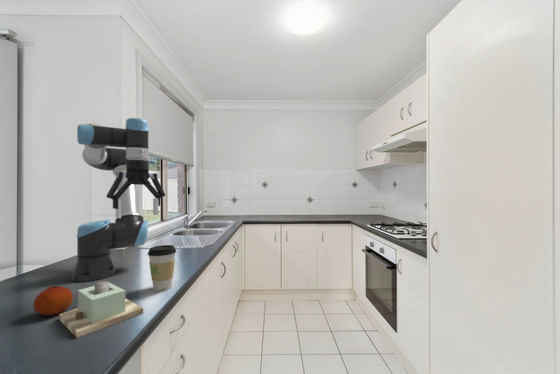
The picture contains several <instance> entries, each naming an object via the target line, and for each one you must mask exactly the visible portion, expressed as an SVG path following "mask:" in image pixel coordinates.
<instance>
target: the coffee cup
mask: <svg viewBox="0 0 560 374" xmlns="http://www.w3.org/2000/svg"><path fill="white" fill-rule="evenodd" d="M176 253H177V249H176V247H175V245H171V244H167V245H166V244H164V245H156V246H152V247H150V248H149V249H148V252H147V256H148V258H149V259H148V260H149V270H150V276H151V282H152V287H153V289H152V290H153V291H156V292H162V291H163V290H164V291H167V290H169V288H170V289H171V288H172V286H173V277H174V272H175V271H174V269H175V263H176V262H175V260H176V258H175V257H176ZM164 291H163V292H164Z"/></svg>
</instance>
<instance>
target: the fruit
mask: <svg viewBox="0 0 560 374" xmlns="http://www.w3.org/2000/svg"><path fill="white" fill-rule="evenodd" d="M73 301H74V295H73V292H72V291H71V290H70V289H69V288H68V287H65V286H61V285H52V286H49V287H47V288H46V289H44V290H43V291H41V292H39V294H38V295H36V297H35V299H34V301H33V309H34V311H35V312H36V313H38V314H40V315H43V316H54V315H59V314H61V313H63V312H65V310H67V309H68V308H69V307H70V306H71V305H72V303H73Z"/></svg>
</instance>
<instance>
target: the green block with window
mask: <svg viewBox="0 0 560 374" xmlns="http://www.w3.org/2000/svg"><path fill="white" fill-rule="evenodd" d="M125 298H126V290H125V289H123V288H121V287H119V286H117V285H116V284H113V283H111V282H109V291H108V292H104V293H101V294H97V295H95V285H93V286H89V287H85V288H81V289H78V290H77V308H78V311H79V312H83V315H84V316H85V317H86V318H87V319H89V320H90V321H91V322H92V323H94V322H97V321H100V320H103V319H106V318H108V317H111V316H114V315H117V314H120V313H123V312H125Z"/></svg>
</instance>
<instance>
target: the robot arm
mask: <svg viewBox="0 0 560 374" xmlns="http://www.w3.org/2000/svg"><path fill="white" fill-rule="evenodd" d="M76 129H77V131H76V135H77V137H76V138H77V139H76V140H77V144H79V145H83V146H84V149H83V150H82V158H83V161H84V162H85V163H86V164H87V165H89V166H90V167H93V168H95V169H97V170H101V171H111V172H112V174H113V175H114V176H115V179H114V181H113V183H112V184H111V187H110V189H109V190H108V192H107V194H106V198H108V199H111V200H112V209H114V210H115V220H114V222H111V220H110V219H104V220H96V221H91V222H88V223H87V222H86V223H83V224H80V225H79V226H78V227H77V235H76V239H77V241H76V242H77V248H76V249H77V250H76V251H77V252H76V253H77V254H76V255H77V260H76V263H75V265H74V269H73V271H72V273H71V279H72V281H73V282H81V283H82V282H90V281H98V280H102V279H105V278H108V277H111V276H113V275H115V273H116V266H115V264H114V261H113V259H112V256H111V250H117V249H124V248H125V249H127V248H135V247H140V246H144V245H145V244H146V242H147V239H148V238H147V237H148V231H149V230H148V229H149V222H148V220H144V216H143V215H142V214H140V208H139V207H140V206H139V196H138V186H139V185H141V186H145V188H146V189H147V190H148V191H149V193H151V194H152V196H153V198H152V212H153V213H152V215H153V216H154V215H155V216H159V213H160V211H159V207H160V206H161V199H162V198H163V197H166V193H165V192H164V189H163V187H162V185H161V183H160V181H159V179H158V174H157V173H149V171H150V167H149V163H150V162H149V161H148V160H149V158H150V157H149V156H150V155H149V150H150V149H149V131H150V129H149V122H148V121H147V120H146V119H144V118H138V117H137V118H136V117H130V118H127V119H126V121H125V127H124V128H122V127H120V128H119V127H112V126H104V125H102V126H101V125H93V124H82V123H80V124H78V125H77V128H76ZM149 179H150V180H151V181H152V182H150V180H149ZM151 183H152V184H153V185H152V184H151ZM137 185H138V186H137Z"/></svg>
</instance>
